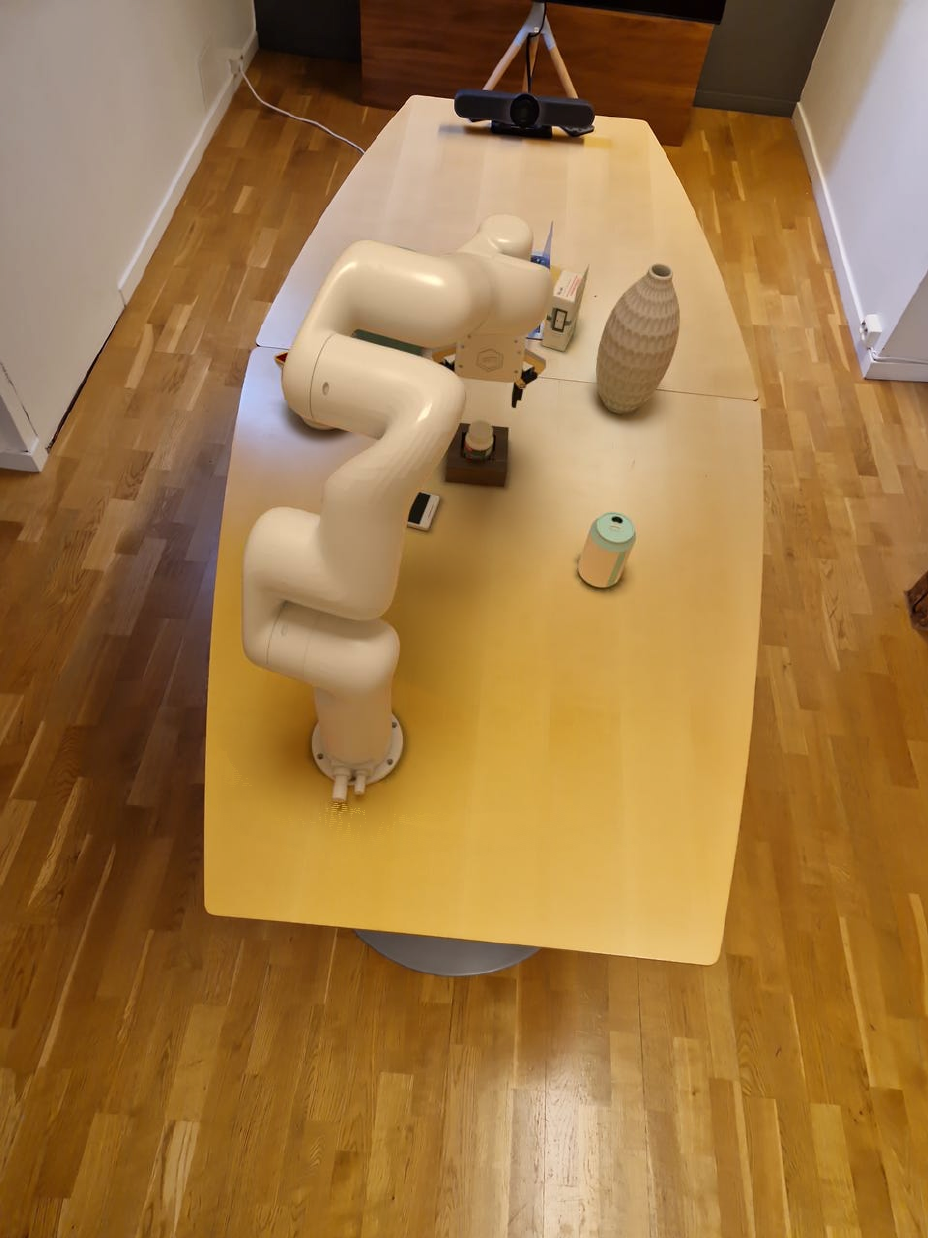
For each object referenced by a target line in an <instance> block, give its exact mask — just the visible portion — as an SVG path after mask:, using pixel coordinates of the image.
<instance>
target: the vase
mask: <svg viewBox="0 0 928 1238" xmlns="http://www.w3.org/2000/svg"><path fill="white" fill-rule="evenodd" d="M673 276H674V272H673V269H672V268H671V267H670V266H669V265H667V264H664V263H660V262H659V263H654V264H652V265H650V266H649V268H648V270H647V272H646V273H645V274H644V275H643V276H642V277H640V278H639V279H638V280H636V281H635V282H634V283H633V284H632V285H631V286H629V287H628V288H627V290H626V291H625V292H623V294H622V295H621V296H620V297H619V298H618V300H617V302H616V303H615V305H614V306H613V308H612V310H611V311H610V313H609V315H608V318H607V319H606V322H605V325H604V328H603V330H602V334H601V338H600V341H599V345H598V349H597V355H596V365H595V374H596V377H595V378H596V385H597V389H598V393H599V396H600V399H601V400H602V403H603V405H604V406H605V408H606V409H608V410H609V411H610V412H612V413H615V414H619V415H624V414H625V415H626V414H629V413H631V412H633V411H634V410H636V409H637V408H639V407H641V406H642V405H644V403H645V402H646V401H648V400H649V398H651V396H652V395H653V394H654V393H655V391H656V390H657V389H658V388H659V386H660V384H661V382H662V381H663V380H664V378H665V376H666V374H667V371H668V369H669V367H670V364H671V361H672V359H673V357H674V353H675V350H676V347H677V343H678V340H679V334H680V325H681V310H680V305H679V299H678V295H677V293H676V289H675V287H674V283H673Z"/></svg>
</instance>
